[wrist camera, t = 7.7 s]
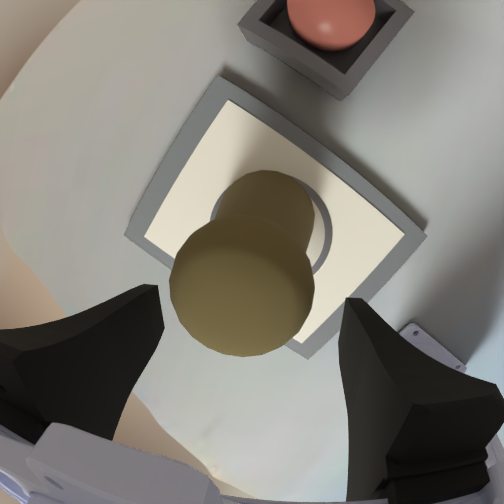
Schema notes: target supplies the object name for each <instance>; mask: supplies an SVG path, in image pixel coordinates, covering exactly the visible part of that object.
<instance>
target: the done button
mask: <svg viewBox="0 0 504 504" xmlns="http://www.w3.org/2000/svg"><path fill="white" fill-rule="evenodd" d="M287 6H288V16H289V23H290V26H291V28H292V30H293V32H294V33H295V35H296V36H297V37H298V38H299V39H300V40H301V41H302V42H303V43H305V44H306V45H308V46H310V47H311V48H314V49H316V50H320V51H324V52H341V51H345V50H348V49H350V48H352V47H354V46H355V45H356V44H358V42H359V41H360V40H361V39H362V37H363V36H364V35H365V33H366V32H367V31H368V29H369V28H370V26H371V25H372V23H373V21H374V18H375V4H374V1H373V0H287Z"/></svg>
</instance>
